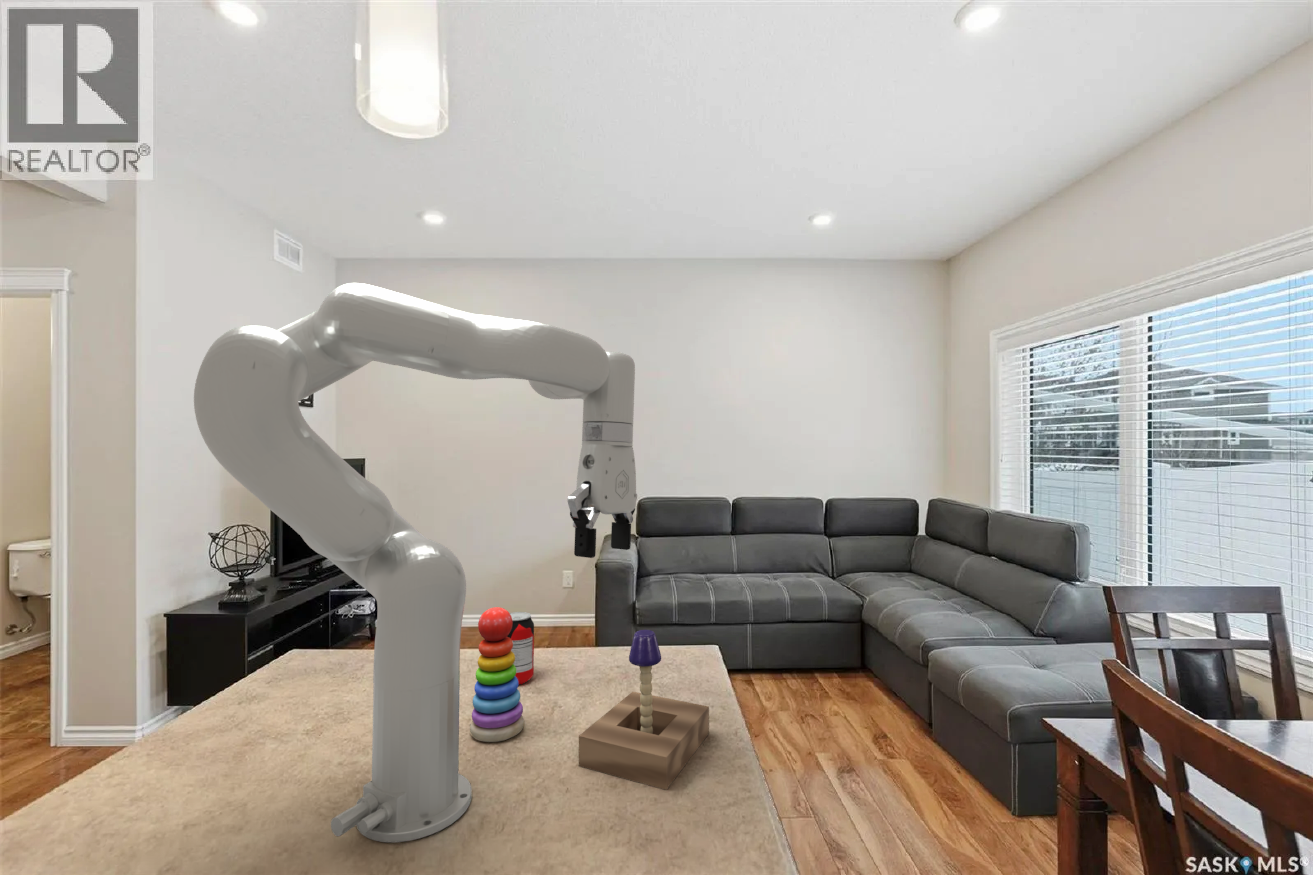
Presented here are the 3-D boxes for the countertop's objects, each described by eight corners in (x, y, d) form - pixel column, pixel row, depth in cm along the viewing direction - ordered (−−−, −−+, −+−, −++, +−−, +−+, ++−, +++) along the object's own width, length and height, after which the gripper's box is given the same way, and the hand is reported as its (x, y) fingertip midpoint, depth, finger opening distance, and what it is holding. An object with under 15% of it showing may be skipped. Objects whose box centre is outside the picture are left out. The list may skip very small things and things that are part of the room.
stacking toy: (490, 716, 91) (492, 599, 92) (533, 724, 88) (534, 603, 89) (458, 739, 83) (459, 611, 84) (504, 748, 81) (505, 616, 81)
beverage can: (532, 672, 109) (533, 610, 110) (534, 685, 103) (535, 619, 104) (498, 675, 108) (499, 612, 108) (498, 689, 102) (499, 621, 102)
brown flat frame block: (666, 789, 71) (666, 757, 71) (578, 766, 76) (578, 735, 76) (709, 733, 85) (708, 706, 85) (632, 716, 91) (632, 691, 91)
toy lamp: (657, 760, 78) (657, 638, 78) (624, 757, 78) (625, 635, 79) (664, 743, 82) (664, 628, 83) (633, 740, 83) (633, 626, 84)
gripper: (596, 432, 74) (592, 563, 73) (656, 440, 90) (653, 548, 89) (551, 432, 78) (546, 557, 77) (616, 439, 93) (612, 544, 92)
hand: (603, 552), depth 83 cm, fingers open, 9 cm apart
